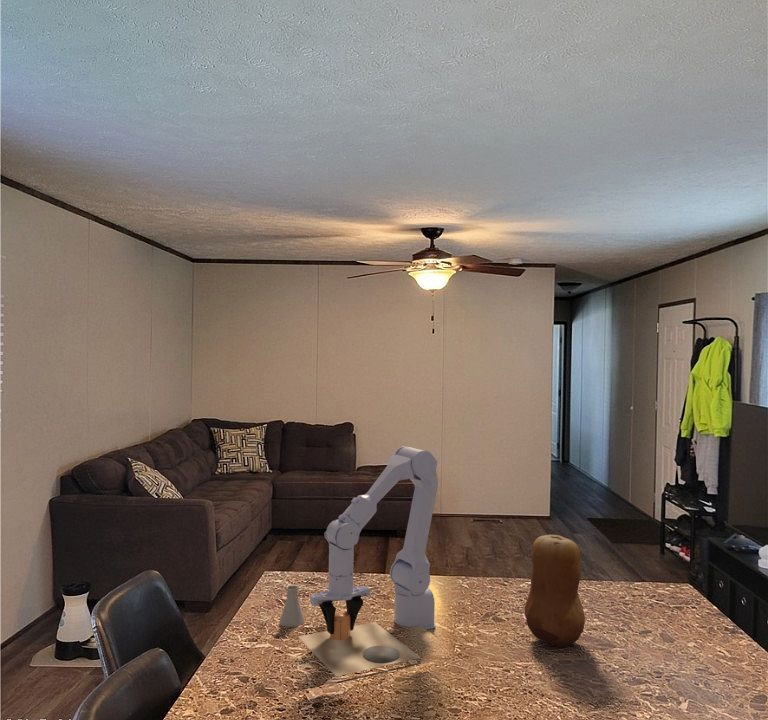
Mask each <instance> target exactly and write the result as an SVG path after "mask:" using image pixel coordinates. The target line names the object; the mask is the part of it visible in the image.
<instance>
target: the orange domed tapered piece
mask: <svg viewBox="0 0 768 720" xmlns="http://www.w3.org/2000/svg"><path fill="white" fill-rule="evenodd" d="M350 627H351V617H350V613H348V612H347V611H344V610H339V611H337V610H336V611H335V617H334V634H330V637H331V638H332V639H335V640H344V639H348V638H349V637H350Z"/></svg>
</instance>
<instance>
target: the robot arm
mask: <svg viewBox="0 0 768 720" xmlns="http://www.w3.org/2000/svg"><path fill="white" fill-rule="evenodd" d="M437 466H438V461H437V459H436V458H435V456H434V455H433V454H432V453H431V452H430V451H429V450H424V449H418V448H415V447H411V446H408V445H402V446H400V447H398V448H397V449H396V451H395V453H394V454H392V455H391V456H390V458H389V461H388V464H387V466H386V467H385V468H384V469H383V471H382V472H381V474H380V475H379V476H378V477H377V479H376V480H375V481H374V483H373V484H372V486H371V487H370V488H369V490H368V491H367V492H366V493H365V494H359V495H357V497H355V496H354V497H353V498H352V500H350V501H351V503H350V505H349V506H347V508H346V509H345V511H343V513H342V514H340V515H338V516H337V517H338V519H335V520H332V521H331V522H330V523H329V524H328V526H327V527H326V530H325V531H324V538H325V539H326V541H327V542H328V589H326V590H324V591H321V592H318V593H315V594H311V595H310V597H309V599H310V601H309V604H310V605H312V607H315V606H318V607H319V608H320V610H321V613H322V614H323V617H324V622H325V626H326V631H327V632H328V633H330V634H334V617H335V612H337V607H335V606H334V603H333V602H339V601H345V606H346V607H345V608H346V612H348V613H350V617H351V627H350V631H352V630H353V629H354V626H355V624H356V622H357V621H356V620H357V617H358V615H359V612H360V610H361V609H362V607H363V605H364V600H363V599H362V597H367V598H368V597H369V598H370V597H371V590H372V589H371V588H370V587H369V586H368V585H363V586H354V558H355V557H354V553H355V552H354V551H355V550H354V546H355V545H357V544H358V542H359V540H360V533H361V532H362V529H363V528H364V527H365V526H366V525H367V524H368V523H369V521H370V520H371V519H372V518H373V516H374V515H375V514H376V513H377V511H378V509H377V504H378V503H380V501H381V500H382V499H383V498H384V497H385V496H386V495H387V494H388V493H389V492H390V490H391V489H392V488H393V487H394V486H395V485H397V483H398V482H399V481H402V480H410V481H411V482H412V484H413V486H414V490H413V496H412V499H411V500H412V501H411V505H410V511H409V517H408V521H407V527H406V532H405V537H404V542H403V548H402V549H401V550H399V551H398V552H397V553H396V556H395V559H394V561H393V563H392V565H391V567H390V569H389V578H390V580H391V581H392V583H394V584H393V587H394V623H395V625H396V624H397V625H399V626H401V627H408V628H410V627H413V628H414V627H419V626H420V627H422V629H425V630H427V631H428V630H432V629H436V627H437V625H435V607H436V606H435V602H436V601H435V597H434V593H433V592H432V590H431V589H430V588H429V587H430V584H431V575H430V567H431V564H430V562H429V559H428V558H427V556H426V550H427V549H426V548H427V544H428V539H429V533H430V528H431V525H432V523H431V522H432V518H433V512H434V508H435V502H436V497H437V491H438V486H439V478H438V474H437Z"/></svg>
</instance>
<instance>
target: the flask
mask: <svg viewBox="0 0 768 720" xmlns="http://www.w3.org/2000/svg"><path fill="white" fill-rule="evenodd" d="M285 590H286V591H287V596H286V600H285V601H286V602H285V605H284V607H283V611H282V613H281V615H280V619H279V625H281V626H284V627H291V628H292V627H300V626H302V625H303V624H305V622H306V619H305V615H304V613H303V610H302V607H301V604H300V601H299V600H300V599H299V594H298V593H299V590H300V587H299V585H295V584H294V585H293V584H292V585H290V584H289V585H287V586H286V589H285Z"/></svg>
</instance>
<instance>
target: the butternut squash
mask: <svg viewBox="0 0 768 720" xmlns="http://www.w3.org/2000/svg"><path fill="white" fill-rule="evenodd" d="M530 554H531V555H530V556H531V569H530V590H529V592H528V595H527V599H526V602H525V604H524V605H525V606H524V614H525V615H524V616H525V620H526V624H527V627H528V629H529V631H530V632H531V633H532V635H533V636H534V637H535V638H536V639H538V640H540V641H543V642H544V643H547V645H549V646H550V647H555V648H560V649H561V648H563V647H565V646H570V645H573V644H575V643H576V642H577V641H578V640H579V639H580V638H581V635H582V634H583V632H584V628H585V624H586V617H585V611H584V607H583V605H582V602H581V599H580V595H579V592H578V591H579V586H580V583H581V577H582V576H581V575H582V566H581V565H582V563H581V561H582V560H581V551H580V548H579V546H578V544H577V543H576V542H574V541H573V540H571V539H569V538H566V537H565V536H561V535H558V534H545V535H541V536H539V537H537V538H536V539H535V540H534V542H533V544H532V546H531V552H530Z"/></svg>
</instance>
